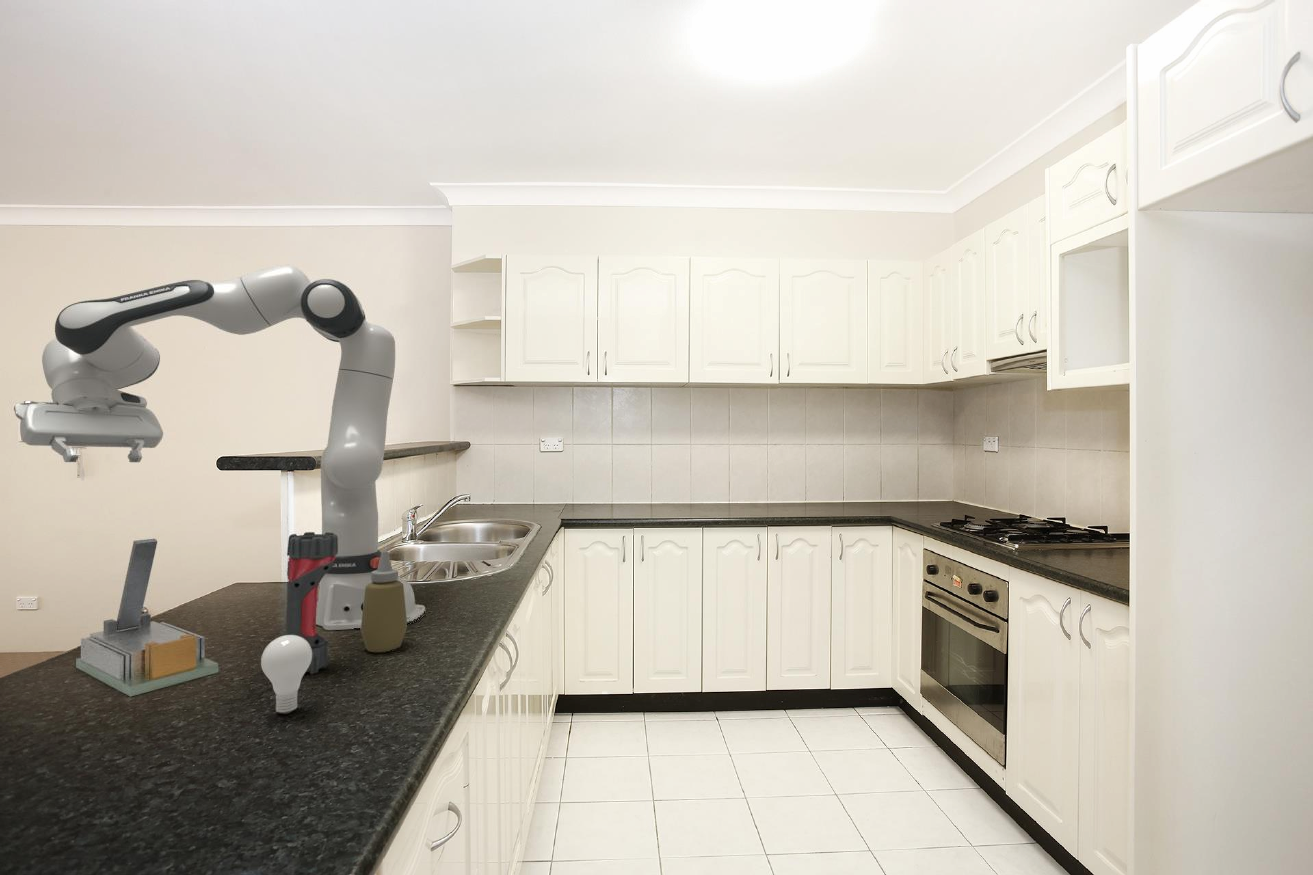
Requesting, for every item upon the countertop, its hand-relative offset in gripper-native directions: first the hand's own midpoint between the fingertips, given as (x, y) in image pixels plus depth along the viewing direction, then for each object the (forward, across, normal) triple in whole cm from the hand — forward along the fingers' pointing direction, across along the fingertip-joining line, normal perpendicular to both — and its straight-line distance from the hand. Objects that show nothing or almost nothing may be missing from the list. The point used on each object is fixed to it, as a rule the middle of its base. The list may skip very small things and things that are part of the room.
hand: (105, 460), depth 118 cm
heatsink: (+38, +1, +11) cm, 39 cm away
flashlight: (+53, +15, -6) cm, 55 cm away
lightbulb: (+62, +4, -16) cm, 64 cm away
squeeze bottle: (+53, +29, -7) cm, 61 cm away
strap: (+25, +1, +4) cm, 25 cm away
